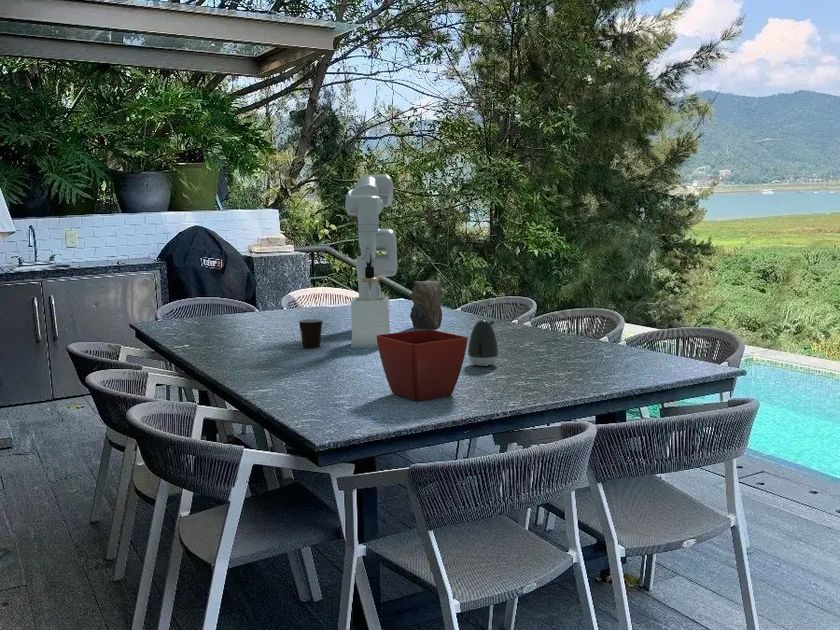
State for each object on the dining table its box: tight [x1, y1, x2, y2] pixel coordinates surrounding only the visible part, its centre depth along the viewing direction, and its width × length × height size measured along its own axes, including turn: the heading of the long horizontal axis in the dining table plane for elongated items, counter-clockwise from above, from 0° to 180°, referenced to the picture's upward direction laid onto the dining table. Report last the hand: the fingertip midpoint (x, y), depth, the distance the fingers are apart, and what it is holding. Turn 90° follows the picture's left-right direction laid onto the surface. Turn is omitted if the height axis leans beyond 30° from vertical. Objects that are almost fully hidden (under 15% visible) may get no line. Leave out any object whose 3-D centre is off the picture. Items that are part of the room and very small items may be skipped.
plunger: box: [361, 277, 380, 301], centre depth 326 cm, size 10×10×17 cm
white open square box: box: [350, 296, 391, 349], centre depth 327 cm, size 14×14×18 cm
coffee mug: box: [298, 318, 323, 350], centre depth 326 cm, size 12×9×10 cm
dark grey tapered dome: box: [467, 319, 500, 367], centre depth 284 cm, size 10×10×15 cm
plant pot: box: [377, 329, 469, 402], centre depth 242 cm, size 19×19×17 cm
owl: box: [409, 279, 443, 331], centre depth 370 cm, size 13×13×20 cm
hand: (369, 277), depth 325 cm, fingers closed
